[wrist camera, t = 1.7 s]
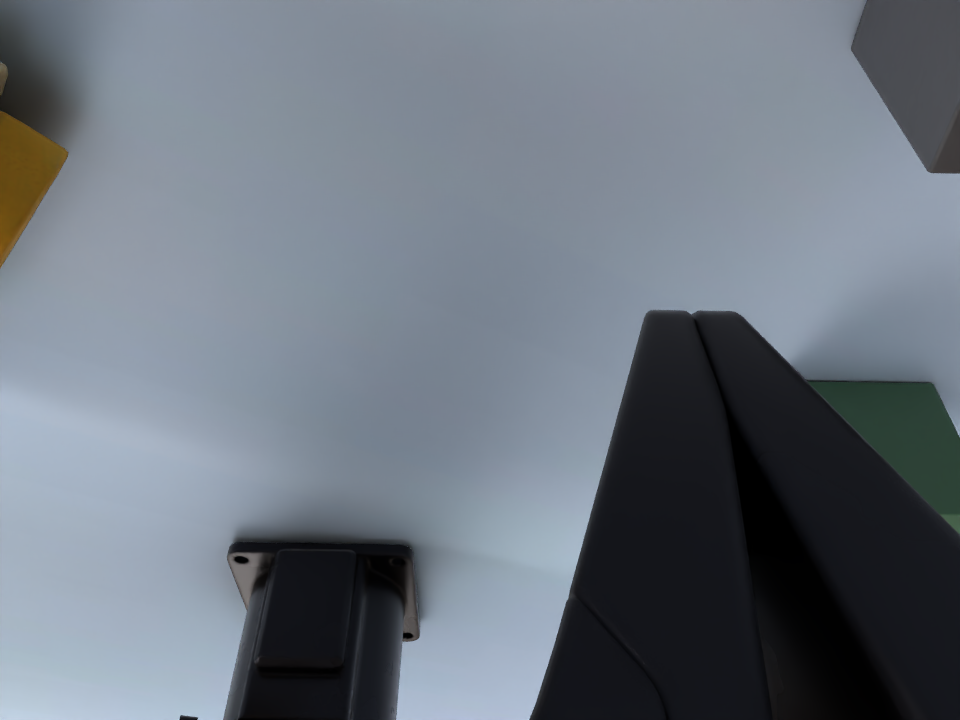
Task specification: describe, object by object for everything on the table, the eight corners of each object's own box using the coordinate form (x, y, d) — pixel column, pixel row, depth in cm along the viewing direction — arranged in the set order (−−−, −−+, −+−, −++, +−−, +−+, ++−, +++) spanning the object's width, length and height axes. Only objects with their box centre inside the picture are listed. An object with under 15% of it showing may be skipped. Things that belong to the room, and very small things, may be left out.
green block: (879, 477, 27) (928, 604, 24) (740, 475, 27) (771, 602, 24) (933, 382, 24) (998, 515, 21) (775, 380, 24) (817, 512, 21)
